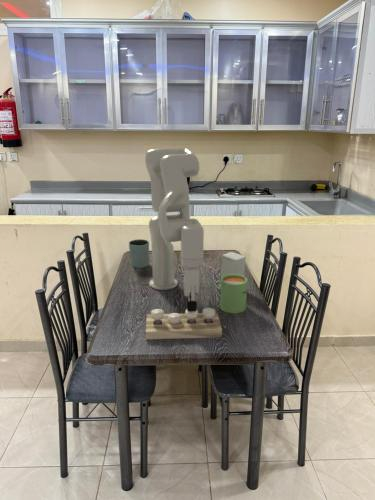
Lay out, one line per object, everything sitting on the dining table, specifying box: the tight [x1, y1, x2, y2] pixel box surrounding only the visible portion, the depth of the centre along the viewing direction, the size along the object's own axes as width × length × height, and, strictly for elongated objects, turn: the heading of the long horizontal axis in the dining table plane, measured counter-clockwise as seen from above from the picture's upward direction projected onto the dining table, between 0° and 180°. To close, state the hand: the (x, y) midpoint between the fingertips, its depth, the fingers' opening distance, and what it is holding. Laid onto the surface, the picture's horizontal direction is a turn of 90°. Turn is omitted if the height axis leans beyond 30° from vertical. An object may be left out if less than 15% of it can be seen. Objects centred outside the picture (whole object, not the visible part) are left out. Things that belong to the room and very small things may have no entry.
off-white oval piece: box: [150, 308, 165, 325], centre depth 139 cm, size 4×4×5 cm
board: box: [145, 312, 223, 340], centre depth 141 cm, size 12×26×3 cm, turn 93°
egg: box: [201, 307, 216, 323], centre depth 140 cm, size 4×4×5 cm
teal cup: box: [128, 239, 150, 269], centre depth 198 cm, size 10×10×12 cm
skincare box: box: [219, 251, 246, 289], centre depth 171 cm, size 8×7×16 cm
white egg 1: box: [168, 312, 181, 324], centre depth 140 cm, size 4×4×5 cm
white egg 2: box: [184, 308, 199, 324], centre depth 140 cm, size 4×4×5 cm
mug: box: [219, 274, 248, 314], centre depth 156 cm, size 13×10×12 cm
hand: (191, 310), depth 138 cm, fingers closed
